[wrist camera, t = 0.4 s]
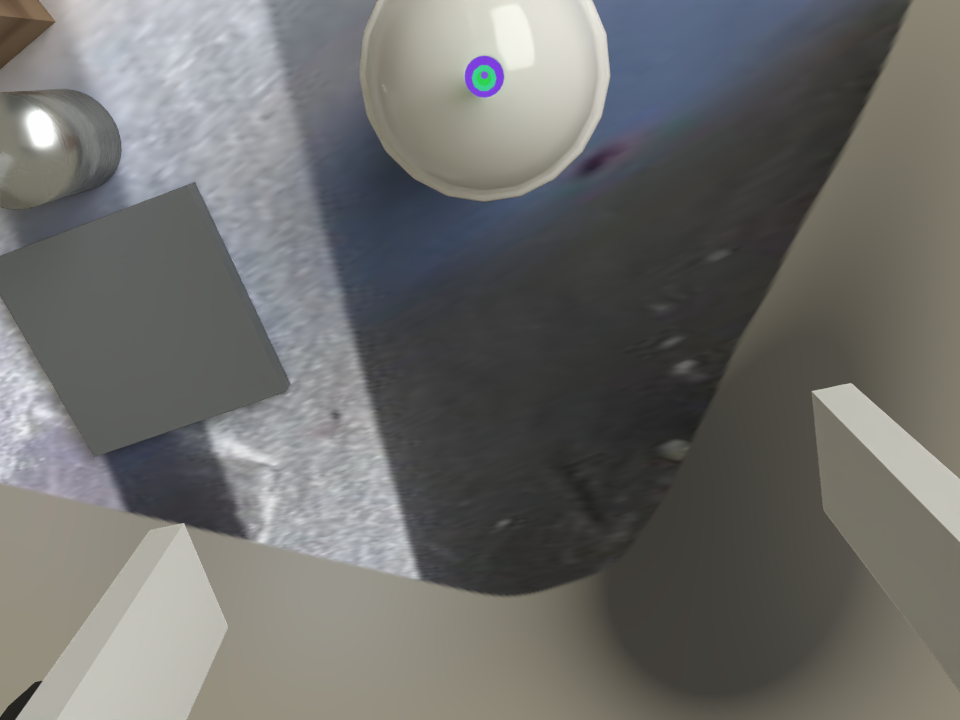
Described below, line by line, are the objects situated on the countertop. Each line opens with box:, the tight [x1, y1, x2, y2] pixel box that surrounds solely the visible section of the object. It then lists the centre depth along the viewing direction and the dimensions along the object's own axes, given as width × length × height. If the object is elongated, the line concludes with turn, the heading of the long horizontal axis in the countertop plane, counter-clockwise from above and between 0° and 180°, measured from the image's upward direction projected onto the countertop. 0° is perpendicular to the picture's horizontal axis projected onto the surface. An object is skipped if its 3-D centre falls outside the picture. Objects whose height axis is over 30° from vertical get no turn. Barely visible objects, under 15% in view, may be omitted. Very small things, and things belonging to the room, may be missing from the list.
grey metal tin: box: [0, 89, 121, 209], centre depth 38 cm, size 5×5×6 cm
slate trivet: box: [0, 182, 290, 457], centre depth 44 cm, size 12×12×1 cm
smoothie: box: [359, 0, 610, 202], centre depth 30 cm, size 8×8×20 cm
